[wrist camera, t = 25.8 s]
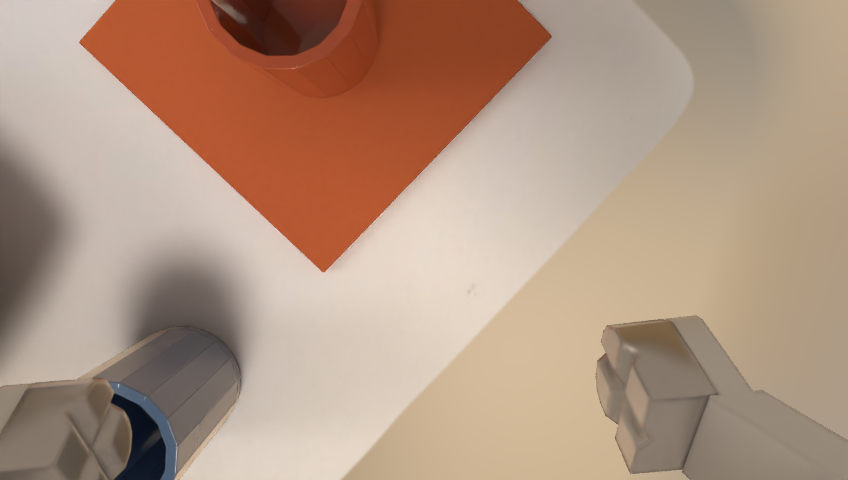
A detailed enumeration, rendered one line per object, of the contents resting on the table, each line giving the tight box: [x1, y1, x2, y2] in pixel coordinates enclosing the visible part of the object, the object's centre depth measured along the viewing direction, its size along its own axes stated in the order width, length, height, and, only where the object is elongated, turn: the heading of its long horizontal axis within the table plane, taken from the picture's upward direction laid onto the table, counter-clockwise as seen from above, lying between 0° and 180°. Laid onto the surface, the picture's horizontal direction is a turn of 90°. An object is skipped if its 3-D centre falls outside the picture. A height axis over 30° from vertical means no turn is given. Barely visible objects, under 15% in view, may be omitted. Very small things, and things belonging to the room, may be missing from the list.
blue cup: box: [78, 327, 241, 480], centre depth 33 cm, size 7×7×10 cm
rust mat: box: [79, 0, 552, 272], centre depth 35 cm, size 20×20×1 cm
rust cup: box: [195, 0, 379, 98], centre depth 30 cm, size 7×7×10 cm
